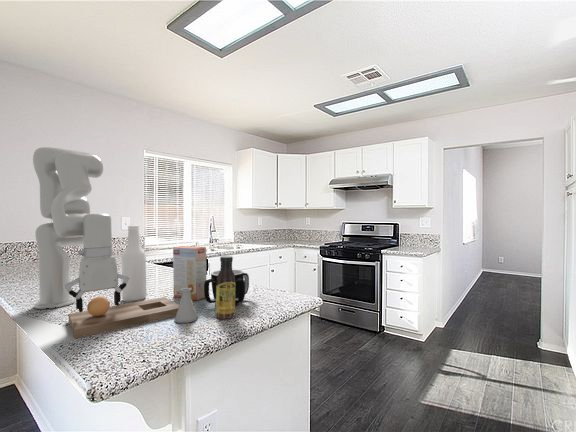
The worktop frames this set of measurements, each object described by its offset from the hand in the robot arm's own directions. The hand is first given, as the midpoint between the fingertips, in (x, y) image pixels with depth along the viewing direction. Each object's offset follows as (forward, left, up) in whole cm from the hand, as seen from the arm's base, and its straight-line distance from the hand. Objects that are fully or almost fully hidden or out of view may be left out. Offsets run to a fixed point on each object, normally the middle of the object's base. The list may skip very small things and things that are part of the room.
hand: (99, 307), depth 95 cm
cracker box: (-11, +34, -5) cm, 36 cm away
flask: (+15, +22, -5) cm, 27 cm away
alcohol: (-24, +16, -5) cm, 30 cm away
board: (0, +8, -5) cm, 9 cm away
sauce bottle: (+21, +33, -5) cm, 39 cm away
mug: (+8, +41, -5) cm, 42 cm away
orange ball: (0, 0, 0) cm, 1 cm away
